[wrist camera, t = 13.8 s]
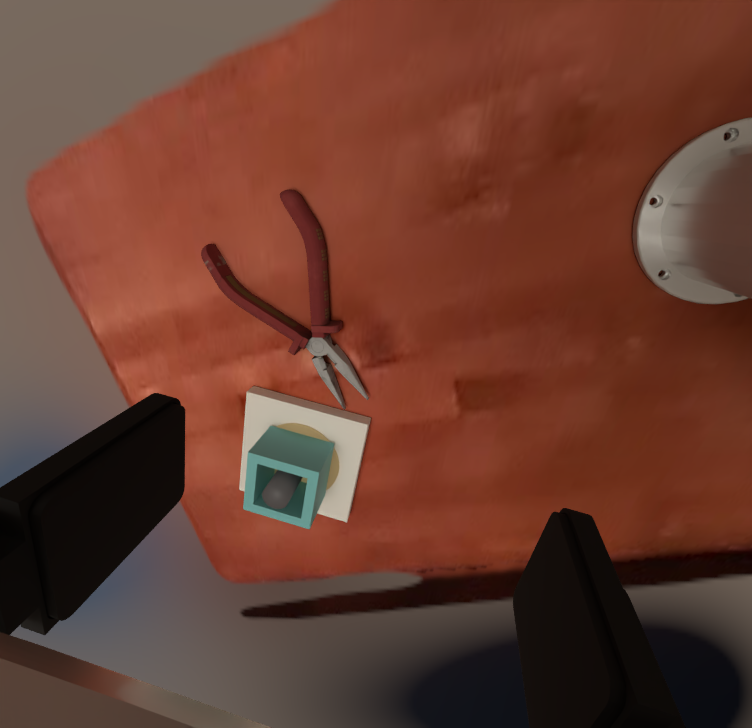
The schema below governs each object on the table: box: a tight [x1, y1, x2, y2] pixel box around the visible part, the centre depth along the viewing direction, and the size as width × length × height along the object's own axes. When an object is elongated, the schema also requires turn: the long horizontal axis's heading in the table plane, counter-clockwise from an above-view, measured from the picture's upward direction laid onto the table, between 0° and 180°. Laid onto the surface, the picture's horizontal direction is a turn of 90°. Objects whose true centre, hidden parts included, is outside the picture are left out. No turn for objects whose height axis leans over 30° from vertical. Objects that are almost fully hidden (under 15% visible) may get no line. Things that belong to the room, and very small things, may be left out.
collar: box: [243, 426, 335, 529], centre depth 41 cm, size 7×7×5 cm
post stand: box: [239, 386, 371, 522], centre depth 42 cm, size 13×13×8 cm
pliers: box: [201, 190, 369, 409], centre depth 38 cm, size 12×20×3 cm, turn 29°
